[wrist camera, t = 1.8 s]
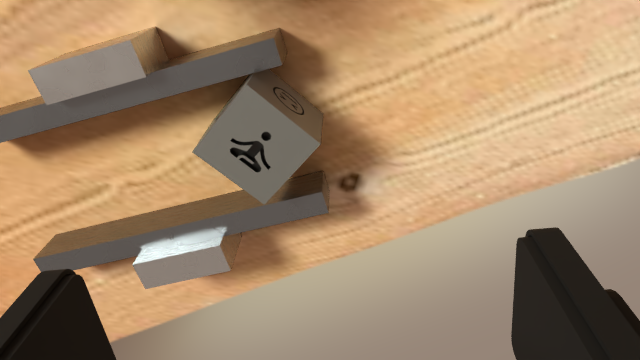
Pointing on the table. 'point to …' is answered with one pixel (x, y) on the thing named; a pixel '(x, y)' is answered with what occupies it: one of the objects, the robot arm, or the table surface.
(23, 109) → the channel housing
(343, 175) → the table surface
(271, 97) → the dice cube
